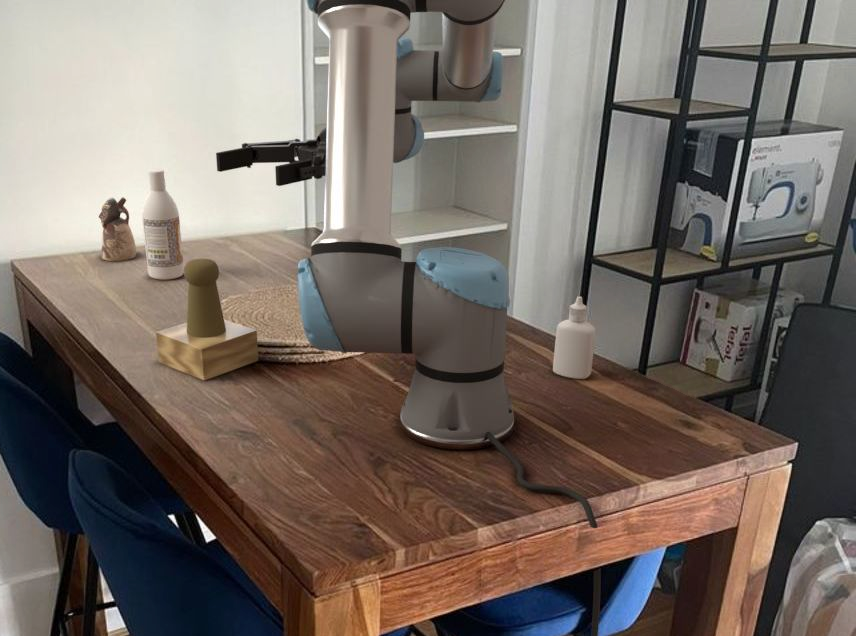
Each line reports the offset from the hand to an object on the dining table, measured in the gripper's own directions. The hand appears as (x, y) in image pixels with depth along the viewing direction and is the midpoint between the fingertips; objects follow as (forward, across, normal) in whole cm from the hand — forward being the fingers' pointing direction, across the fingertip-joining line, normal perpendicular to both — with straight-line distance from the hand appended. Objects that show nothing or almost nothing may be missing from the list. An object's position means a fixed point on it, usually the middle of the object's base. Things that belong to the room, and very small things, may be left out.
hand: (246, 169), depth 151 cm
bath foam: (-13, +42, -29) cm, 53 cm away
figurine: (-14, +60, -29) cm, 69 cm away
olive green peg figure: (+10, 0, -23) cm, 25 cm away
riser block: (+10, 0, -28) cm, 30 cm away
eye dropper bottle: (-25, -44, -28) cm, 58 cm away
